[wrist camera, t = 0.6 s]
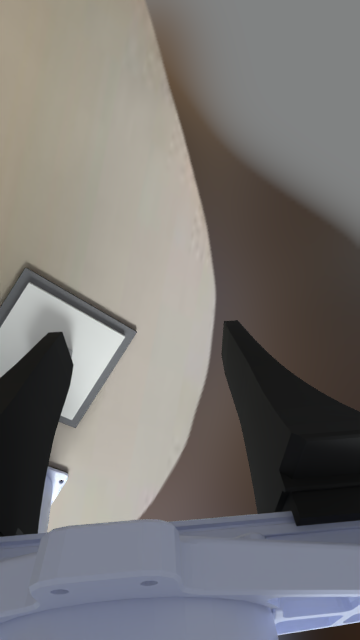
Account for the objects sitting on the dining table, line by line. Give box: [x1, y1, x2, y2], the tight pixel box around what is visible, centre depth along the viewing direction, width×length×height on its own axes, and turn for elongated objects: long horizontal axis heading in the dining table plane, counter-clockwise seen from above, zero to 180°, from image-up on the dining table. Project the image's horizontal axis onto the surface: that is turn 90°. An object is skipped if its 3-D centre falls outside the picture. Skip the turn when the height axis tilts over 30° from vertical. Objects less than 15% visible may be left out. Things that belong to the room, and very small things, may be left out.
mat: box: [0, 268, 137, 428], centre depth 32 cm, size 13×13×1 cm
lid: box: [0, 282, 125, 420], centre depth 30 cm, size 11×11×4 cm
